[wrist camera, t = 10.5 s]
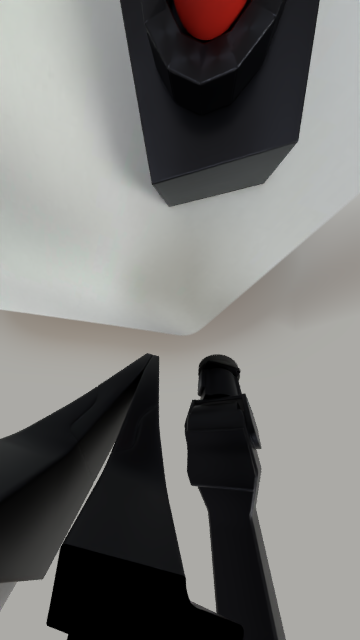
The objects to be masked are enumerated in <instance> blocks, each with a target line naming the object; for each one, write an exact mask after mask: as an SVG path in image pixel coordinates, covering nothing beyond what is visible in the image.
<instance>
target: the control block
mask: <svg viewBox="0 0 360 640" xmlns="http://www.w3.org/2000/svg"><path fill="white" fill-rule="evenodd" d="M319 1H320V0H247V2H246V4H245V6H244V8H243V10H242V11H241V13H240V15H239V16H238V18H237V19H236V20H235V22H234V23H233V24H232V25H231V26H230V27H229V29H228V30H226V31H225V32H224V33H223V34H222V35H220V36H218V37H217V38H214V39H212V40H200V39H197V38H195V37H193V36H192V35H191V34H190V33H189V32H187V30H186V29H185V28H184V26H183V24H182V22H181V21H180V19H179V16H178V14H177V11H176V8H175V4H174V0H120V4H121V9H122V15H123V21H124V26H125V32H126V38H127V44H128V49H129V55H130V61H131V67H132V72H133V78H134V84H135V90H136V95H137V101H138V107H139V113H140V118H141V124H142V130H143V136H144V141H145V147H146V153H147V158H148V164H149V170H150V176H151V181H152V185H153V186H154V188H155V189H156V190H157V191H158V193H159V194H160V195H161V197H162V198H163V199H164V200H165V202H166V203H167V204H168V206H169V207H170V206H174V205H178V204H182V203H186V202H190V201H194V200H199V199H203V198H207V197H211V196H215V195H219V194H223V193H227V192H231V191H235V190H239V189H243V188H247V187H251V186H255V185H259V184H263V183H264V182H265V181H266V180H267V179H268V178H269V176H270V175H271V174H272V173H273V171H274V170H275V169H276V168H277V167H278V165H279V164H280V163H281V162H282V160H283V159H284V158H285V157H286V156H287V154H288V153H289V152H290V151H291V149H292V148H293V147H294V146H295V144H296V143H297V142H298V139H299V132H300V125H301V119H302V112H303V106H304V99H305V93H306V86H307V80H308V73H309V67H310V60H311V54H312V47H313V40H314V34H315V27H316V21H317V14H318V8H319Z"/></svg>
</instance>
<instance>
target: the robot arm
mask: <svg viewBox="0 0 360 640" xmlns="http://www.w3.org/2000/svg"><path fill="white" fill-rule="evenodd" d="M237 370H238V371H237ZM240 372H241V371H240V368H237V367H233V366H229V365H225V364H222V363H218V362H214V361H210V360H207V361H206V364H205V366H204V368H203V369H202V370H201V372H200V375H199V382H198V395H199V396H201V400H192V403H191V406H190V409H189V412H188V415H187V418H186V422H185V436H186V441H187V450H188V458H187V473H188V477H189V480H190V483H191V485H192V486H198V489H199V491H200V493H201V495H202V498H203V500H204V503H205V505H206V507H207V510H208V516H209V526H210V538H211V551H212V563H213V574H214V587H215V600H216V612H217V613H215V612H213V611H210V610H208V609H206V608H204V607H202V606H200V605H198V604H196V603H194V602H191V601H190V600H189V597H188V594H187V589H186V578H185V574H184V570H183V565H182V560H181V555H180V551H179V547H178V541H177V537H176V533H175V527H174V523H173V518H172V513H171V509H170V504H169V499H168V494H167V488H166V482H165V474H164V466H163V458H162V448H161V440H160V430H159V356H156V355H152V354H148V353H147V354H145V355H144V356H142V357H141V358H139V359H138V360H136V361H135V362H133V363H132V364H130V365H129V366H127V367H126V368H124V369H123V370H121V371H120V372H118V373H117V374H115V375H114V376H112V377H111V378H109V379H108V380H106V381H105V382H103V383H102V384H100V385H99V386H98V387H95V388H94V389H92V390H91V391H89V392H88V393H86V394H85V395H83V396H82V397H80V398H78V399H77V400H75V401H73V402H72V403H70V404H68V405H66V406H65V407H63V408H61V409H59V410H58V411H56V412H54V413H52V414H51V415H49V416H47V417H45V418H43V419H42V420H40V421H38V422H36V423H35V424H33V425H31V426H29V427H27V428H25V429H23V430H21V431H19V432H17V433H15V434H12V435H10V436H7V437H5V438H2V439H0V610H1V609H2V607H3V605H4V603H5V602H6V600H7V598H8V596H9V595H10V593H11V591H12V590H13V588H14V586H15V584H16V582H18V581H28V580H38V579H43V578H44V576H45V574H46V573H47V571H48V569H49V567H50V565H51V563H52V561H53V559H54V557H55V555H56V554H57V552H58V550H59V548H60V546H61V544H62V542H63V540H64V538H65V536H66V535H67V533H68V530H69V529H70V527H71V524H72V523H73V521H74V519H75V517H76V515H77V513H78V511H79V510H80V508H81V506H82V504H83V502H84V500H85V498H86V496H87V494H88V493H89V491H90V489H91V487H92V485H93V482H94V481H95V479H96V477H97V475H98V473H99V471H100V470H101V468H102V466H103V464H104V462H105V460H106V458H107V456H108V454H109V452H110V450H111V449H112V447H113V449H112V452H111V454H110V457H109V459H108V461H107V464H106V466H105V468H104V470H103V472H102V474H101V476H100V478H99V480H98V481H97V483H96V485H95V487H94V489H93V491H92V492H91V494H90V496H89V497H88V499H87V501H86V503H85V505H84V506H83V508H82V510H81V512H80V514H79V515H78V517H77V519H76V521H75V522H74V524H73V526H72V528H71V530H70V532H69V533H68V535H67V537H66V538H65V540H64V542H63V544H62V546H61V548H60V553H59V559H58V564H57V569H56V575H55V581H54V586H53V592H52V597H51V603H50V608H49V613H48V618H47V626H49V627H52V628H54V629H57V630H59V631H62V632H65V633H67V634H68V638H67V640H286V639H285V634H284V630H283V626H282V621H281V617H280V612H279V608H278V604H277V599H276V595H275V590H274V586H273V582H272V578H271V573H270V569H269V565H268V560H267V556H266V551H265V547H264V542H263V538H262V534H261V529H260V525H259V520H258V516H257V511H256V501H257V495H258V488H259V482H260V475H261V465H260V461H259V458H258V454H257V450H256V449H261V444H260V439H259V435H258V429H257V426H256V422H255V419H254V416H253V413H252V410H251V407H250V405H249V402H248V399H247V397H246V394H242V393H241V389H240V385H239V381H238V376H239V374H240ZM114 443H115V444H114ZM113 445H114V446H113Z"/></svg>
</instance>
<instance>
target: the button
mask: <svg viewBox="0 0 360 640" xmlns="http://www.w3.org/2000/svg"><path fill="white" fill-rule="evenodd" d="M246 2H247V0H174V4H175V8H176V11H177V14H178V16H179V19H180V21H181V22H182V24H183V26H184V28H185V29H186V30H187V32H189V33H190V34H191V35H192V36H193V37H195V38H197V39H200V40H212V39H214V38H217V37H218V36H220V35H222V34H223V33H224V32H225V31H226V30H228V29H229V27H230V26H231V25H232V24H233V23H234V22H235V20H236V19H237V18H238V16H239V15H240V13H241V11H242V10H243V8H244V6H245V4H246Z"/></svg>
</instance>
